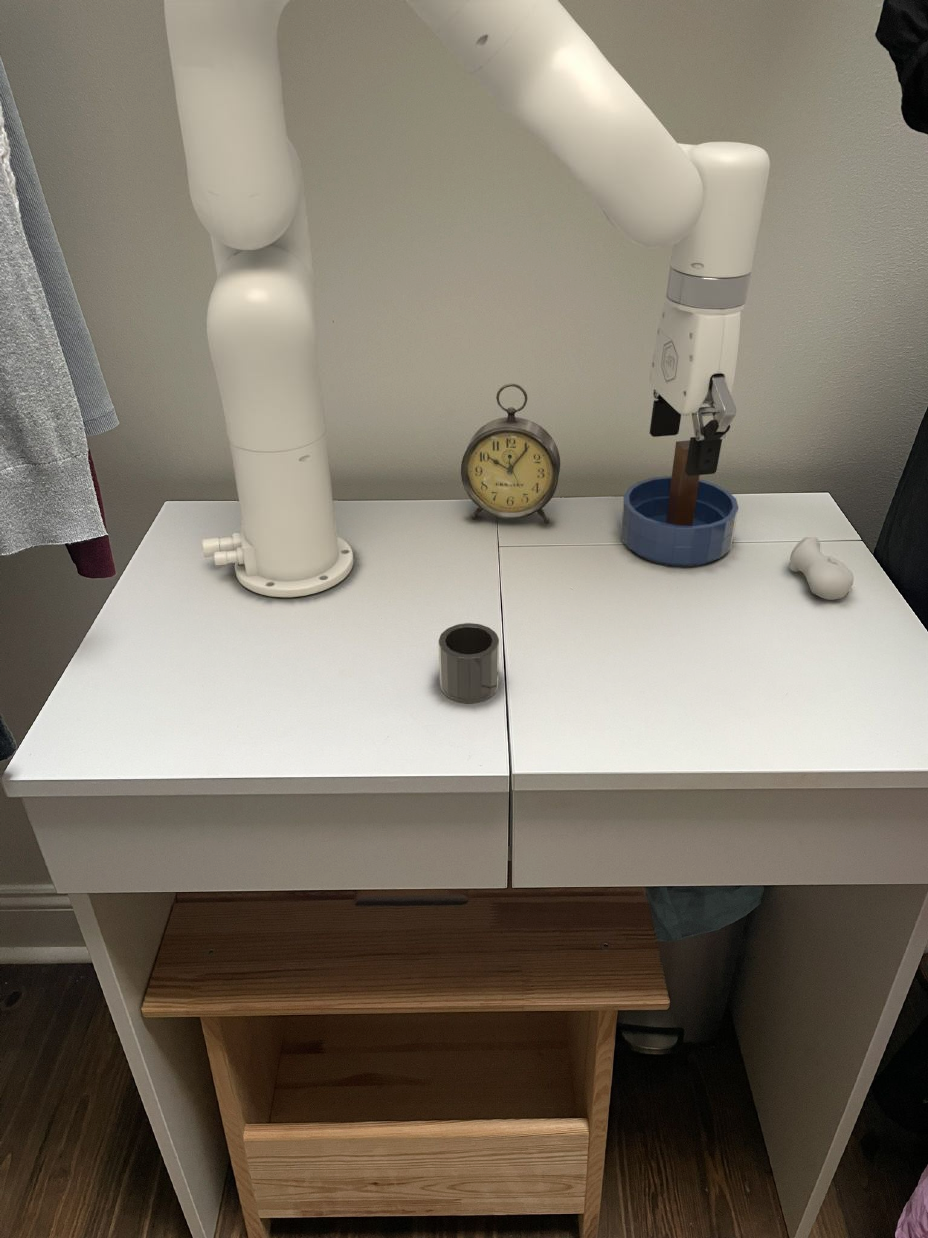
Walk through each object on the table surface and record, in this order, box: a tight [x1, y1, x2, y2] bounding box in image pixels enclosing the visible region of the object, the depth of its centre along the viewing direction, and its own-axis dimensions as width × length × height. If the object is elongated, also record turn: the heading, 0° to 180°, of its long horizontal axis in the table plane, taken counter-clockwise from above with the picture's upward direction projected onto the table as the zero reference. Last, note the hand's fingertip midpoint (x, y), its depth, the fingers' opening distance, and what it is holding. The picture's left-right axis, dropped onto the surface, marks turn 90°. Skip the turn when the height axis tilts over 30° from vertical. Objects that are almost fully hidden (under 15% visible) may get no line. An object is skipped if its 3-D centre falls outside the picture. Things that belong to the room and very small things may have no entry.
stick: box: [666, 439, 701, 526], centre depth 102 cm, size 2×2×11 cm
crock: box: [438, 622, 500, 704], centre depth 84 cm, size 5×5×5 cm
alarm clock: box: [460, 383, 561, 524], centre depth 106 cm, size 11×5×16 cm, turn 81°
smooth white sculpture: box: [789, 536, 854, 600], centre depth 97 cm, size 4×8×5 cm
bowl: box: [619, 475, 739, 567], centre depth 104 cm, size 12×12×5 cm
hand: (681, 453), depth 100 cm, fingers open, 9 cm apart
